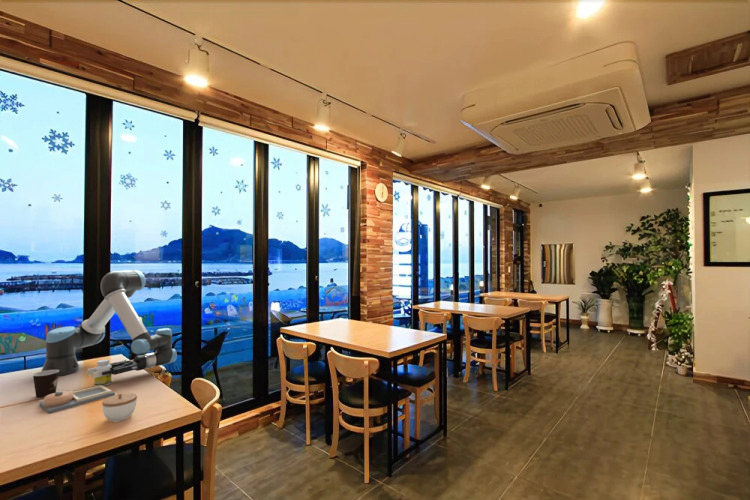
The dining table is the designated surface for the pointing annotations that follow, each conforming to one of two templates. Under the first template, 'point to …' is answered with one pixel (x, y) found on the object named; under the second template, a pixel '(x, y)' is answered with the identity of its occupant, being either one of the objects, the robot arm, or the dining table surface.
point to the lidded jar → (119, 406)
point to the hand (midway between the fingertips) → (90, 373)
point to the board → (74, 398)
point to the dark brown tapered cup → (45, 382)
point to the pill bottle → (103, 379)
